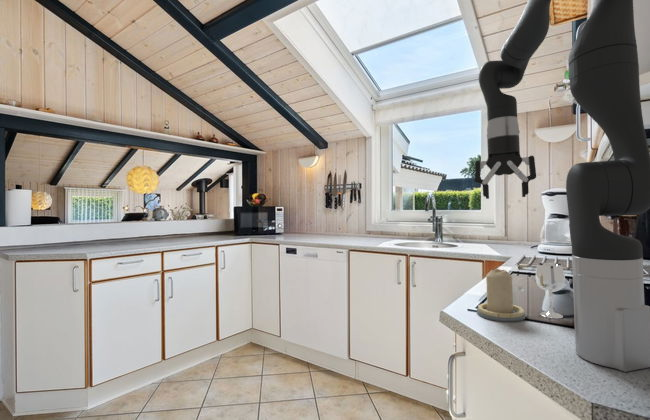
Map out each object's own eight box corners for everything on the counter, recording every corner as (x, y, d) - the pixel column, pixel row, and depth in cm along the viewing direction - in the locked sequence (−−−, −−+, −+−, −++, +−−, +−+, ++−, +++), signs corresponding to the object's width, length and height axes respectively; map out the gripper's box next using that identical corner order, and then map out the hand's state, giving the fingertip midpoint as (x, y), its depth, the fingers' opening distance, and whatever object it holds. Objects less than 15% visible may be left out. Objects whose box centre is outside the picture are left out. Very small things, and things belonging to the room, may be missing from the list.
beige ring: (536, 318, 78) (536, 311, 78) (497, 324, 76) (496, 316, 76) (503, 306, 88) (503, 300, 88) (467, 310, 86) (467, 304, 86)
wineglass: (540, 318, 78) (538, 266, 78) (534, 311, 84) (532, 262, 84) (570, 320, 76) (568, 266, 76) (561, 312, 82) (559, 262, 82)
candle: (489, 314, 80) (487, 271, 80) (485, 307, 86) (484, 267, 85) (515, 315, 79) (514, 272, 78) (510, 308, 84) (509, 267, 84)
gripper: (533, 135, 91) (535, 196, 91) (474, 142, 97) (476, 199, 97) (535, 130, 84) (538, 196, 84) (472, 138, 90) (474, 199, 91)
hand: (505, 197), depth 91 cm, fingers open, 8 cm apart
